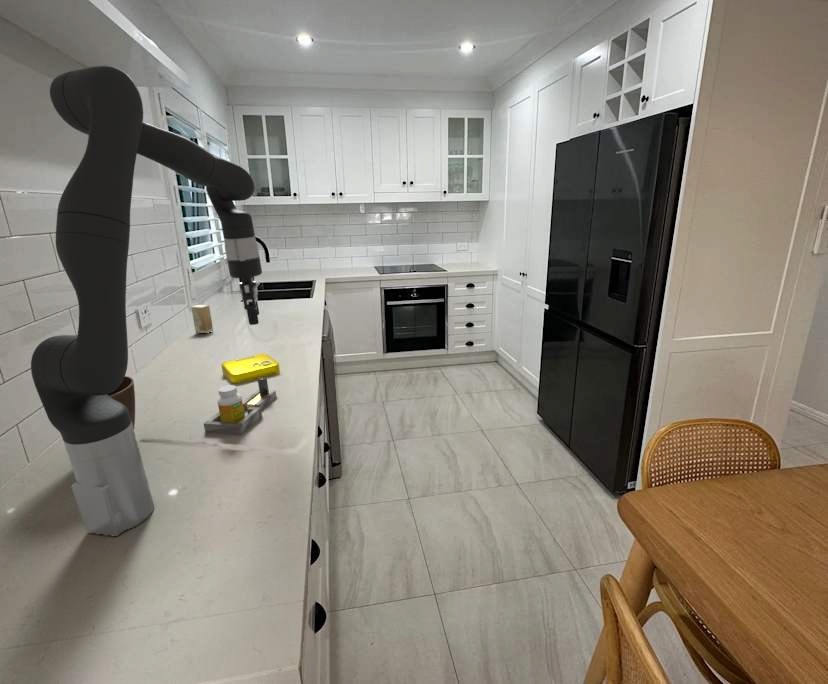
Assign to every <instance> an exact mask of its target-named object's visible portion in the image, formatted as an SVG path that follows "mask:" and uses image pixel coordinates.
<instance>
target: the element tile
mask: <svg viewBox="0 0 828 684" xmlns="http://www.w3.org/2000/svg"><path fill="white" fill-rule="evenodd" d="M220 365H221V369H222V370H221V372H222V375H224V376H225V377H224V376H223V377H224V378H225V379H226V380H227V379H228V381H229V382H231V384H240V383H245V382H248V381H249V382H250V381H253V380H256V379H257V380H258V379H259V378H262V377H268V376H273V375H281V370H280V363H279V362H278V361H277V360H275V359H274V358H273V357H272V356H270V355H269V354H267V353H265V352H263V353H258V354H254V355H250V356H245V357H240V358H236V359H231V360H228V361H224V362H222V363H221V364H220Z"/></svg>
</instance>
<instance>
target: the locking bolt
mask: <svg viewBox="0 0 828 684" xmlns="http://www.w3.org/2000/svg"><path fill="white" fill-rule="evenodd" d="M268 383H269V382H268V378H267V376H265V377H261V378H257V385H258V390H259V392H260V394H258V395H257V396H256V397H255V398H253V399H252V400H251V401H250V402H248V403H247V404H246V405H247V409H248V408H249V407H255V404H256V403H258V402H259V401H260V400H261V399H262V398H264V397H265V396H266V395H267V394H269V393H270V392H271V391H270V390H269V384H268ZM247 409H246V410H247Z"/></svg>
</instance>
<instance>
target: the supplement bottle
mask: <svg viewBox="0 0 828 684" xmlns="http://www.w3.org/2000/svg"><path fill="white" fill-rule="evenodd" d="M218 395H219V397H218V399H217V407H218V412H220V417H221V422H227V423H238V422H240V421H241V420H242V419H243V418H244V417H246V415H245V411H244V408H243V403H242V402H243V398H242V397H243V396H242V395H241V394H240V393H238V388H237V386H236V385H234V384H229V385H228V384H227V385H223V386H221V387H220V388H218Z"/></svg>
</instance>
